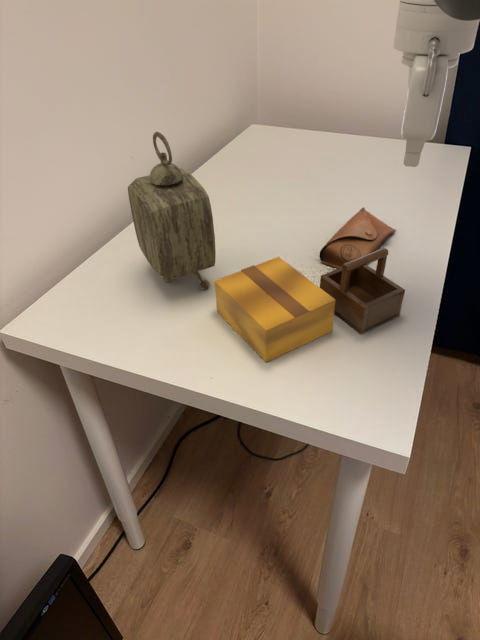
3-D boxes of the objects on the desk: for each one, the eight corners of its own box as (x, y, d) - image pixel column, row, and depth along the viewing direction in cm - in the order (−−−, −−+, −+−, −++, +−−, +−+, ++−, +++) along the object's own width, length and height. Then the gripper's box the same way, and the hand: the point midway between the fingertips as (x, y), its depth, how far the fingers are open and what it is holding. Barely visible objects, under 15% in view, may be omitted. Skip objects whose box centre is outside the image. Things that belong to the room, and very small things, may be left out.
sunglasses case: (363, 273, 83) (348, 239, 81) (329, 280, 88) (314, 248, 86) (398, 228, 95) (385, 197, 93) (366, 237, 100) (353, 208, 97)
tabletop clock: (219, 291, 82) (207, 143, 66) (168, 308, 79) (143, 156, 63) (186, 252, 92) (169, 115, 76) (140, 265, 89) (112, 126, 73)
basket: (399, 315, 75) (411, 263, 69) (360, 334, 72) (369, 281, 66) (355, 284, 82) (362, 234, 76) (318, 301, 79) (322, 249, 73)
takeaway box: (332, 331, 73) (335, 299, 69) (266, 362, 68) (266, 330, 64) (278, 286, 82) (278, 255, 78) (216, 311, 78) (214, 279, 74)
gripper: (469, 50, 47) (437, 185, 56) (461, 16, 62) (437, 127, 71) (401, 49, 48) (380, 180, 57) (410, 16, 63) (392, 124, 72)
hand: (412, 150), depth 64 cm, fingers open, 8 cm apart
